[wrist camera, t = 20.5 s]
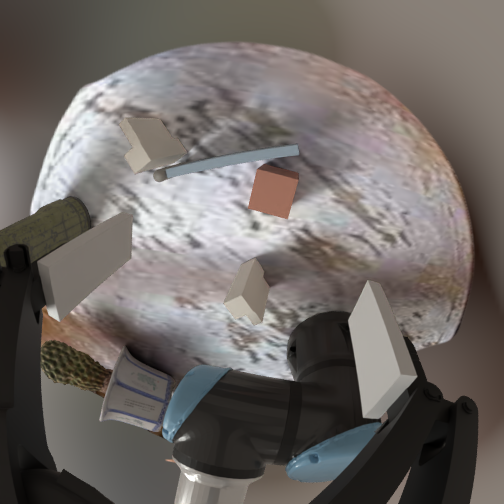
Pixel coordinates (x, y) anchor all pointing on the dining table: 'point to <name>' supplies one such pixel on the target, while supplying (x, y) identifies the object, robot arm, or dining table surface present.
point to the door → (225, 161)
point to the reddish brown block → (273, 190)
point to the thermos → (47, 228)
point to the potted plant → (113, 384)
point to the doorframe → (169, 151)
